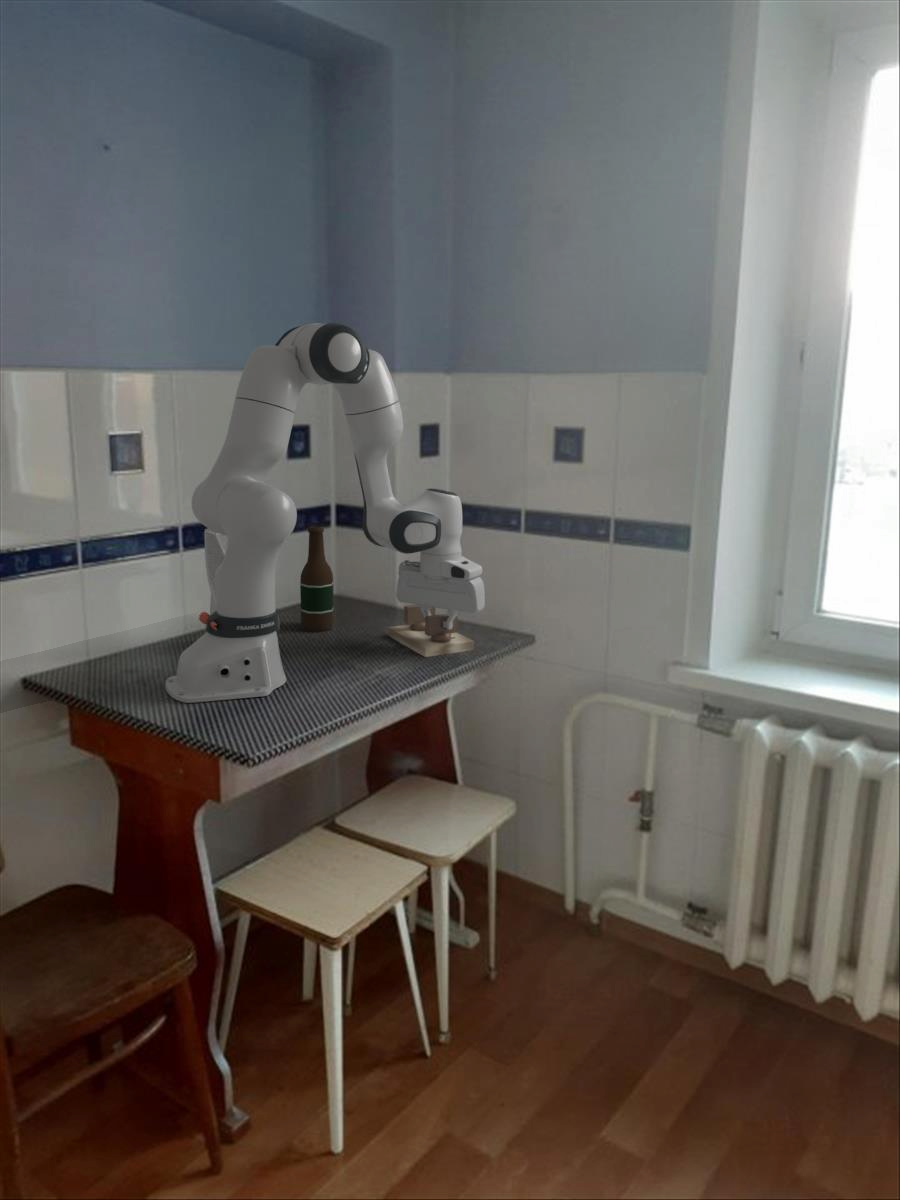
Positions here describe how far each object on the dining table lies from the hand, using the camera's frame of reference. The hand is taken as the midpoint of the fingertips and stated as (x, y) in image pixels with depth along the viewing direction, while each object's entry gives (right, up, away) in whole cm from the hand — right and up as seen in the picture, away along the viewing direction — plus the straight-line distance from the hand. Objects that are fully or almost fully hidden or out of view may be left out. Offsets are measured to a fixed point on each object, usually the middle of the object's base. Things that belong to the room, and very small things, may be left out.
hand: (438, 627), depth 202 cm
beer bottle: (-29, -1, +15) cm, 32 cm away
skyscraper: (-46, -5, 0) cm, 46 cm away
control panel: (-2, -4, +5) cm, 7 cm away
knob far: (-4, -1, +9) cm, 10 cm away
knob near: (0, -3, +1) cm, 3 cm away
